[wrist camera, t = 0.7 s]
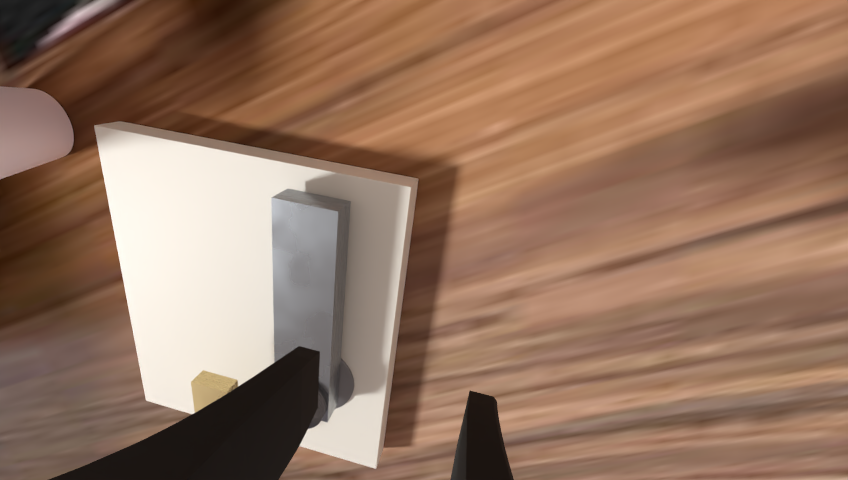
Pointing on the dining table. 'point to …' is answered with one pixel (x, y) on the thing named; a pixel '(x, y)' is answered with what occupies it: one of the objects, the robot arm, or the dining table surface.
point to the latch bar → (310, 283)
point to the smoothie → (31, 130)
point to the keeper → (210, 388)
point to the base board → (250, 268)
